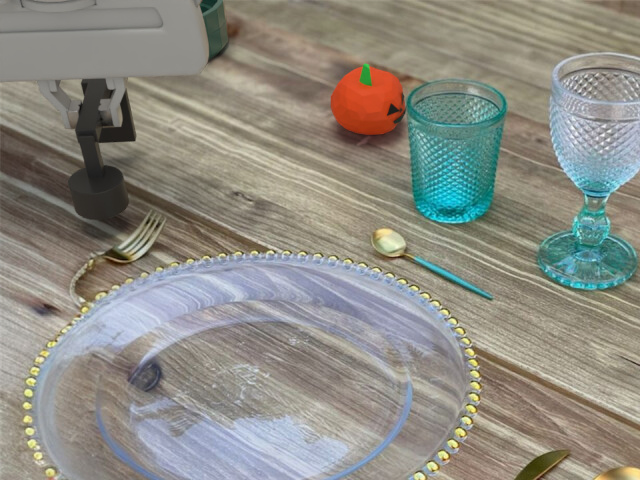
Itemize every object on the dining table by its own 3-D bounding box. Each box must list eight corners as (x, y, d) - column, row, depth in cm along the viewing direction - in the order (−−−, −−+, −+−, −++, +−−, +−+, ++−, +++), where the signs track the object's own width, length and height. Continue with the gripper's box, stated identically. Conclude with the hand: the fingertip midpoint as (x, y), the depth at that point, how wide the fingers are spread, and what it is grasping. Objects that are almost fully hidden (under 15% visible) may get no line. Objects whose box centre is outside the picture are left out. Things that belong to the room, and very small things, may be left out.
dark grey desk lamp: (126, 218, 76) (109, 146, 72) (71, 221, 76) (50, 149, 71) (141, 136, 86) (127, 67, 81) (92, 138, 85) (75, 69, 81)
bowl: (111, 73, 98) (100, 27, 95) (123, 24, 107) (113, -20, 103) (227, 68, 99) (221, 21, 96) (230, 19, 108) (224, -25, 104)
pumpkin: (400, 104, 94) (400, 41, 89) (410, 145, 88) (411, 80, 83) (329, 108, 93) (325, 45, 88) (334, 150, 87) (330, 85, 83)
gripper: (200, -71, 70) (222, 101, 80) (-83, -64, 68) (-24, 110, 78) (195, -39, 66) (220, 139, 75) (-107, -31, 64) (-41, 150, 74)
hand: (94, 124), depth 77 cm, fingers closed on dark grey desk lamp, 2 cm apart
